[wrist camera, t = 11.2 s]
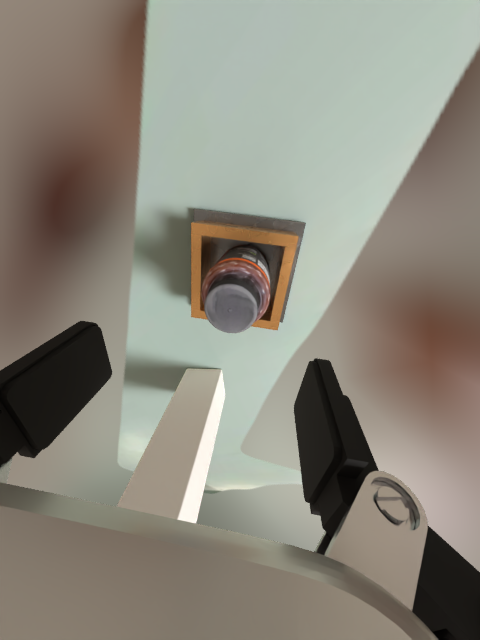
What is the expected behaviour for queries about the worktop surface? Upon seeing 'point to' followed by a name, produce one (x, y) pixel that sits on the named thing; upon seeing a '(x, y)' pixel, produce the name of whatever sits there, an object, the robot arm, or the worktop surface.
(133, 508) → the milk
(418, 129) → the worktop surface
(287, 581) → the robot arm
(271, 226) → the square wooden tray
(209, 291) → the supplement bottle
